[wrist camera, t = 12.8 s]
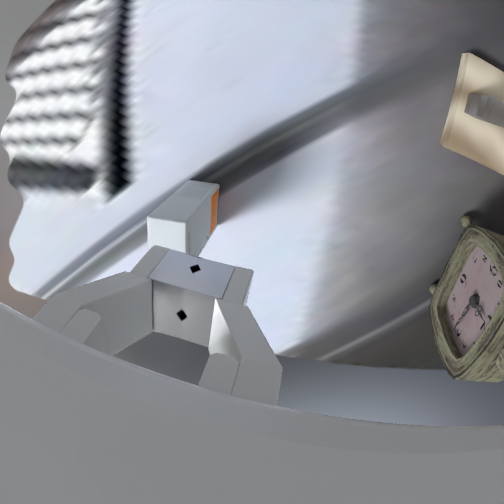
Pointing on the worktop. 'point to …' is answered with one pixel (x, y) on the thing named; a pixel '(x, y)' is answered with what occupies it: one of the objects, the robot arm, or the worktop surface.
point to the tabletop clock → (471, 307)
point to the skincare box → (185, 218)
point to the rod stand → (477, 114)
